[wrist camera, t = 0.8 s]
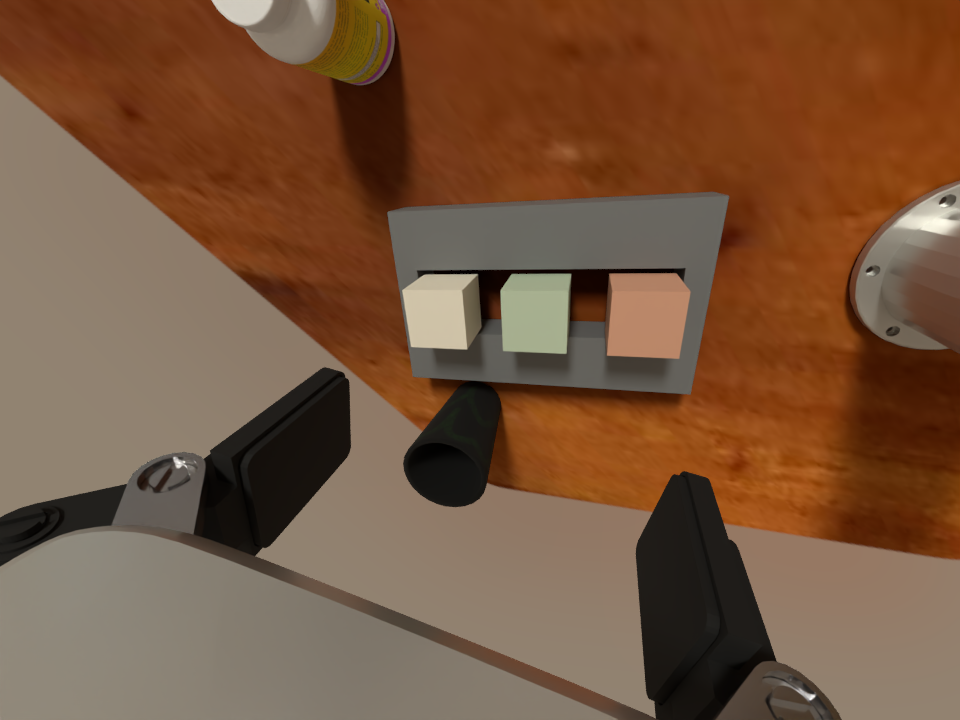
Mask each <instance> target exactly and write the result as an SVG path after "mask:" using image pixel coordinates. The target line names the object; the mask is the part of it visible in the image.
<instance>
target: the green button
mask: <svg viewBox="0 0 960 720" xmlns="http://www.w3.org/2000/svg"><path fill="white" fill-rule="evenodd" d="M500 292H501V315H502V338H503V351H513V352H536V353H559V354H567V345H568V336H569V323H570V296H571V274H511V276H510V277H509V279H508V280H507V282H506V283H505V285H504V286H503V288H502V289H501V291H500Z"/></svg>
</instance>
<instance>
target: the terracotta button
mask: <svg viewBox="0 0 960 720" xmlns="http://www.w3.org/2000/svg"><path fill="white" fill-rule="evenodd" d="M690 293H691V292H690V290H689V289H688V288H687V286H686V285H685V284H684V282H683V281H682V280H681V279H680V277H679V276H678V275H677V273H612V274H609V283H608V295H607V308H606V321H605V339H606V350H607V356H628V357H651V358H674V359H679V356H680V351H681V345H682V339H683V333H684V328H685V322H686V316H687V310H688V304H689V299H690Z"/></svg>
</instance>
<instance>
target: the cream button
mask: <svg viewBox="0 0 960 720" xmlns="http://www.w3.org/2000/svg"><path fill="white" fill-rule="evenodd" d="M402 292H403V298H404V305H405V311H406V318H407V324H408V330H409V337H410V343H411V347H421V348H444V349H468V348H469V346H470V344H471V343H472V341H473V340H474V338H475V337H476V335H477V334H478V332H479V330H480V329H481V327H482V326H481V311H480V297H479V282H478V274H425V275H423V276H422V277H420V278H419V279H417V280H416V281H415V282H413V283H412V284H410V285H409V286H407V287H406V288H405V289H403V290H402Z"/></svg>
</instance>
